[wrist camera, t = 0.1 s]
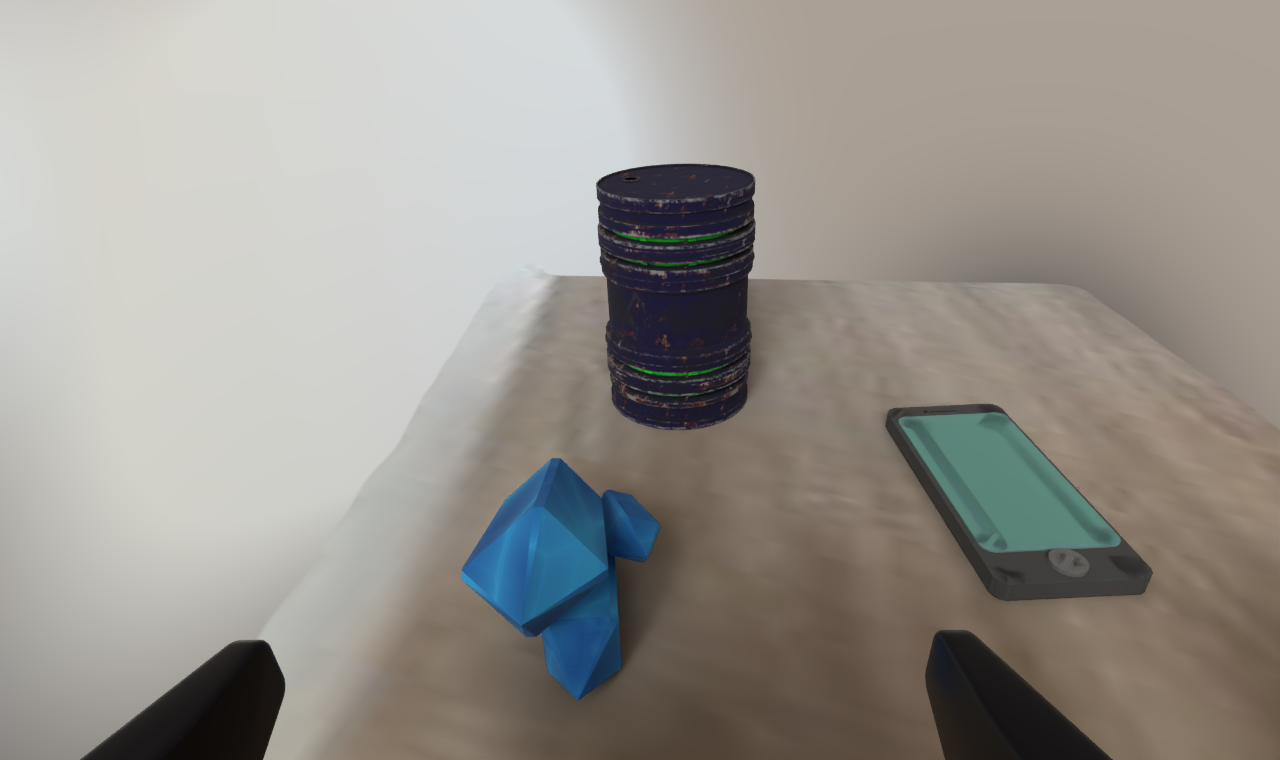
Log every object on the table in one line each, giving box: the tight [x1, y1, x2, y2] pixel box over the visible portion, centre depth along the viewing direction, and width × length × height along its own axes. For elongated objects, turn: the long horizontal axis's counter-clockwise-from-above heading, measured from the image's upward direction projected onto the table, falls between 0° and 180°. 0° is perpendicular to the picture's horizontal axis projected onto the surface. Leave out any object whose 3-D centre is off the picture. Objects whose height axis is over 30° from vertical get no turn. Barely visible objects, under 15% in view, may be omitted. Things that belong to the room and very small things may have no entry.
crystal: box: [461, 458, 660, 701], centre depth 28 cm, size 7×9×12 cm
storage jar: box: [596, 164, 755, 430], centre depth 45 cm, size 10×10×15 cm
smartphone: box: [886, 404, 1153, 601], centre depth 37 cm, size 7×1×15 cm
